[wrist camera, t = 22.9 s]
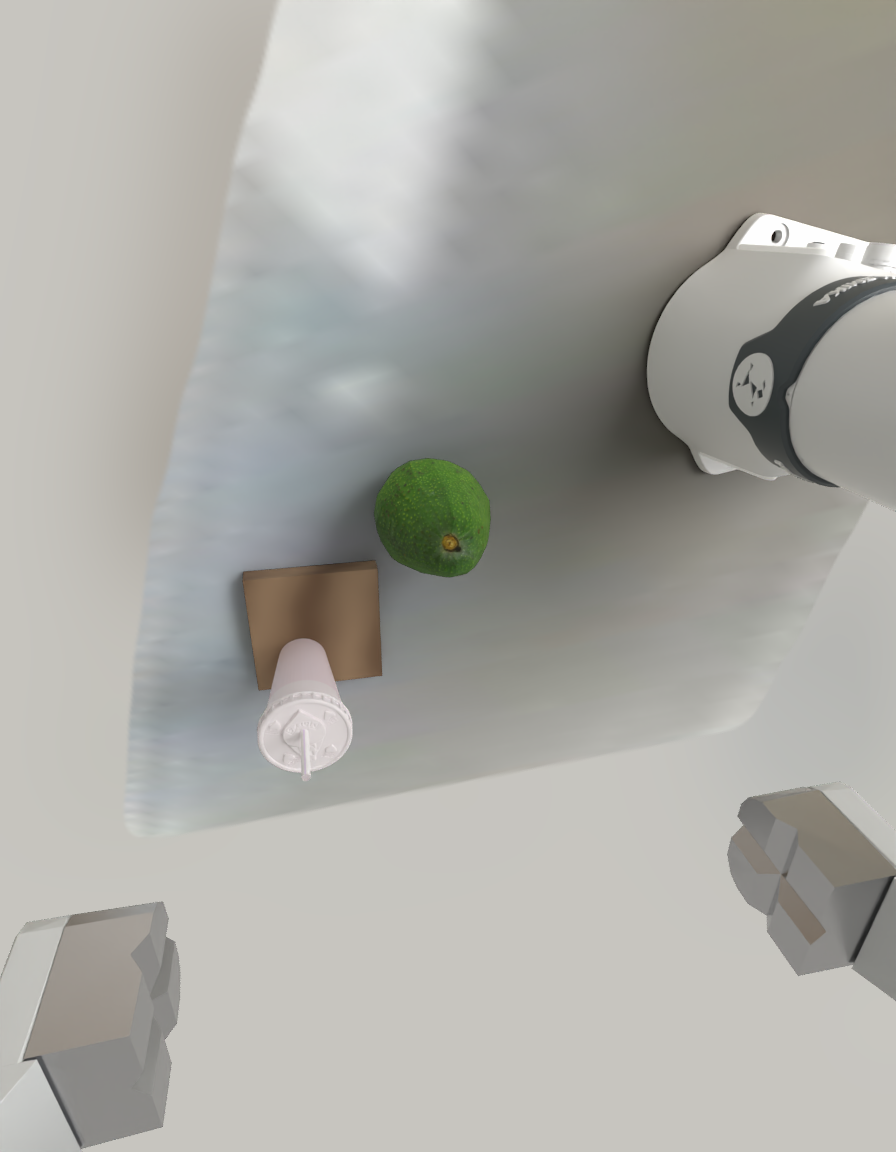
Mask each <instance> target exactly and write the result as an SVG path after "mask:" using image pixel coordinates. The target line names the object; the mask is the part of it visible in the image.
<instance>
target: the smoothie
mask: <svg viewBox="0 0 896 1152" xmlns="http://www.w3.org/2000/svg"><path fill="white" fill-rule="evenodd" d="M257 734H258V746H259V749H260V751H261V753H262V755H263V756H264V757H265V759H266V760H267V761H268V762H270V763H271V764H272V765H274V766H276V767H278V768H280V769H282V770H286V771H290V772H298V773H301V774H302V780H303V781H308V780H310V778H311V772H312V771H317V770H320V769H323V768H326V767H328V766H330V765H332V764H333V763H335V762H336V761H337V760H339V759H340V758H341V757H342V756H343V755H344V754H345V752H346V751H347V749H348V748H349V746H350V743H351V740H352V735H353V731H352V718H351V715H350V713H349V710H348V709H347V708H346V707H345V705H344V704H343V703H342V701H341V698H340V695H339V692H338V689H337V686H336V683H335V680H334V677H333V674H332V671H331V668H330V665H329V662H328V659H327V656H326V653H325V650H324V648H323V647H322V646H321V645H320V644H319V643H318V642H316V641H314V640H311V639H306V638H302V639H296V640H293V641H291V642H289V643H287V644H286V645H285V646H284V647H283V648H282V650H281V652H280V654H279V659H278V663H277V667H276V671H275V675H274V679H273V683H272V687H271V692H270V696H269V700H268V704H267V707H266V709H265V711H264V712H263V714H262V716H261V717H260V719H259V723H258V727H257Z"/></svg>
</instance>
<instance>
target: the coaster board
mask: <svg viewBox="0 0 896 1152" xmlns="http://www.w3.org/2000/svg"><path fill="white" fill-rule="evenodd" d="M243 587H244V594H245V601H246V608H247V614H248V621H249V628H250V635H251V641H252V648H253V655H254V662H255V668H256V675H257V682H258V689H259V690H267V689H271V687H272V683H273V679H274V675H275V671H276V667H277V663H278V659H279V654H280V652H281V650H282V648H283V647H284V646H285V645H286V644H287V643H289V642H291V641H293V640H296V639H302V638H306V639H311V640H314V641H316V642H318V643H319V644H320V645H321V646H322V647H323V648H324V650H325V653H326V656H327V659H328V662H329V665H330V668H331V671H332V674H333V677H334V680H335V681H342V680H350V679H358V678H367V677H375V676H382V661H381V637H380V614H379V590H378V568H377V565H376V561H375V560H374V561H363V562H351V563H339V564H328V565H316V566H304V567H293V568H281V569H269V570H258V571H246V572H243Z"/></svg>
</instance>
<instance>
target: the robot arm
mask: <svg viewBox="0 0 896 1152" xmlns="http://www.w3.org/2000/svg"><path fill="white" fill-rule="evenodd" d="M774 231H775V233H776V237H775V239H774V241H773V242H772V240H771V236H772V234H773V232H774ZM647 383H648V390H649V395H650V399H651V402H652V405H653V407H654V409H655V411H656V413H657V415H658V417H659V418H660V420H661V421H662V423H663V424H664V425H665V426H666V427H667V428H668V430H670V431H671V432H672V433H673V434H674V435H676V436H677V437H678V438H680V439H681V440H682V441H684V442H685V443H686V444H687V445H688V446H689V448H690V450H691V453H692V455H693V457H694V460H695V462H696V463H697V465H698V467H699V468H700V469H701V470H702V471H704V472H706V473H709V474H712V475H717V474H722V473H725V472H729V471H733V470H737V469H738V470H741V471H743V472H746V473H748V474H751V475H754V476H756V477H759V478H761V479H765V480H775V479H776V478H777V477H779V476H785V475H789V474H791V475H793V476H795V477H797V478H800V479H802V480H806V481H808V482H812V483H817V484H819V485H824V486H828V487H842V488H844V489H846V490H848V491H850V492H853V493H855V494H857V495H859V496H861V497H864V498H866V499H868V500H870V501H872V502H875V503H877V504H879V505H881V506H884V507H886V508H888V509H890V510H892V511H895V512H896V245H894V244H888V243H878V242H871V243H869V242H865V241H862V240H858V239H855V238H852V237H848V236H845V235H841V234H838V233H834V232H831V231H827V230H824V229H820V228H817V227H813V226H810V225H807V224H803V223H800V222H796V221H793V220H789V219H786V218H782V217H779V216H775V215H772V214H766V213H757V214H754V215H752V216H751V217H750V218H748V219H747V220H746V221H745V222H744V224H743V225H742V226H741V227H740V229H739V230H738V231H737V233H736V234H735V235H734V237H733V238H732V240H731V241H730V242H729V244H728V245H727V247H726V248H725V249H724V250H723V251H722V252H721V253H720V254H719V255H718V256H717V257H715V258H714V259H713V260H711V261H710V262H708V263H707V264H705V265H704V266H703V267H701V268H700V269H699V270H697V271H696V272H695V273H694V274H693V275H692V276H690V277H689V278H688V279H687V280H686V281H685V282H684V283H683V284H682V286H681V287H680V288H679V289H678V290H677V291H676V293H675V294H674V295H673V297H672V298H671V300H670V301H669V303H668V304H667V306H666V308H665V309H664V311H663V313H662V315H661V317H660V319H659V321H658V323H657V326H656V328H655V331H654V334H653V337H652V340H651V344H650V348H649V354H648V361H647ZM738 818H739V819H740V821H741V822H742V824H743V826H742V827H741V828H740V829H739V830H738V831H737V832H736V834H735V835H734V836H733V837H732V838H731V841H730V845H729V850H728V854H727V855H728V861H729V866H730V872H731V875H732V877H733V879H734V882H735V884H736V886H737V888H738V890H739V891H740V893H741V894H742V896H743V897H744V899H745V900H746V902H747V903H748V904H749V905H751V906H752V907H754V908H756V909H757V910H759V911H761V912H762V913H764V914H765V915H767V932H768V933H769V935H770V936H771V938H772V939H773V941H774V942H775V943H776V945H777V946H778V948H779V949H780V951H781V952H782V954H783V955H784V956H785V958H786V959H787V961H788V962H789V964H790V965H791V966H792V968H793V969H794V971H795V972H796V974H797V975H798V976H800V975H805V974H809V973H814V972H819V971H824V970H829V969H834V968H839V967H844V966H849V965H853V967H852V969H853V970H855V971H856V972H858V973H859V974H860V975H861V976H863V977H864V978H866V979H867V980H868V981H870V982H871V983H872V984H874V985H875V986H876V987H878V988H879V989H881V990H882V991H883V992H885V993H886V994H887V995H889V996H890V997H891V998H893V999H894V1000H895V1001H896V830H895V829H893V827H892V826H891V825H890V824H888V823H887V822H886V821H885V820H884V819H883V818H882V817H881V816H880V815H879V814H878V813H877V812H876V811H875V810H874V809H873V808H872V807H871V806H870V805H869V804H868V803H867V802H866V801H865V800H864V799H863V798H862V797H861V796H860V795H859V794H858V793H856V791H855V790H854V789H852V788H851V787H850V786H848V785H846V784H844V783H842V782H833V783H827V784H822V785H816V786H811V787H807V788H806V787H800V788H795V789H790V790H785V791H780V792H774V793H769V794H764V795H759V796H753V797H749V798H747V799H746V800H745V801H744V802H743V803H742V804H741V807H740V811H739V814H738ZM167 925H168V916H167V913H166V910H165V907H164V904H163V902H156V903H149V904H142V905H135V906H129V907H122V908H115V909H108V910H102V911H95V912H88V913H81V914H75V915H69V916H63V917H57V918H51V919H44V920H39V921H32V922H27V923H26V924H25V925H24V927H23V928H22V930H21V931H20V932H19V934H18V935H17V936H16V938H15V940H14V943H13V945H12V948H11V951H10V953H9V956H8V958H7V961H6V964H5V966H4V969H3V972H2V974H1V977H0V1152H82V1151H81V1149H82V1148H86V1147H89V1146H93V1145H97V1144H101V1143H105V1142H108V1141H112V1140H116V1139H119V1138H123V1137H127V1136H131V1135H135V1134H138V1133H142V1132H145V1131H149V1130H153V1129H157V1128H161V1127H163V1121H164V1114H165V1106H166V1100H167V1092H168V1085H169V1078H170V1071H171V1060H170V1056H169V1053H168V1050H167V1046H166V1043H165V1039H166V1038H167V1036H168V1035H169V1033H170V1032H171V1030H172V1029H173V1028H174V1026H175V1025H176V1024H177V1018H178V1010H179V1001H180V965H179V956H178V952H177V948H176V944H175V942H174V941H173V940H171V939H169V938H167V937H166V932H167Z"/></svg>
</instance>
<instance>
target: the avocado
mask: <svg viewBox="0 0 896 1152" xmlns="http://www.w3.org/2000/svg"><path fill="white" fill-rule="evenodd" d="M374 517H375V522H376V528H377V531H378V534H379V537H380V539H381V542H382V543H383V545H384V546H385V548H386V549H387V551H388V553H389V554H390V556H391V557H392V558H393V559H394V560H396V561H397V562H399V563H401V564H403V565H405V566H408V567H410V568H412V569H414V570H417V571H419V572H421V573H426V574H431V575H436V576H442V577H454V576H459V575H463V574H467V573H468V572H469V571H471V570H472V569H473V568H474V567H475V566H476V564H477V563H478V561H479V560H480V558H481V557H482V554H483V552H484V550H485V548H486V545H487V542H488V537H489V529H490V520H491V517H490V503H489V499H488V498H487V496H486V494H485V493H484V491H483V489H482V488H481V486H480V484H479V483H478V482H477V480H476V479H475V478H474V477H473V476H472V474H471V473H470V472H469V471H467V470H465V469H464V468H461V467H459V466H457V465H455V464H453V463H451V462H448V461H445V460H437V459H430V458H425V459H419V460H413V461H409V462H407V463H405V464H403V465H402V466H400V467H398V468H397V469H396V470H395V471H393V472H392V473H391V475H390V476H389V478H388V479H387V481H386V482H385V484H384V486H383V487H382V489H381V490H380V492H379V493H378V495H377V499H376V504H375V509H374Z"/></svg>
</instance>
